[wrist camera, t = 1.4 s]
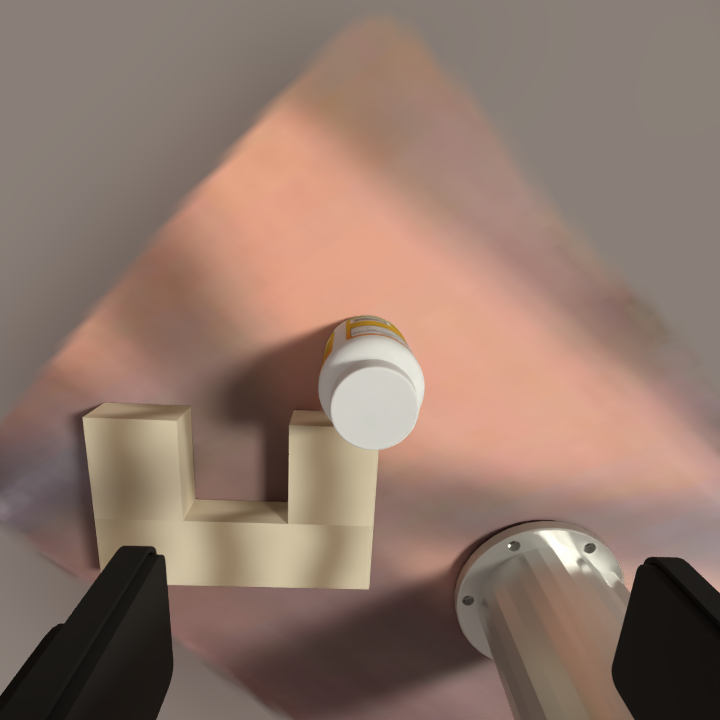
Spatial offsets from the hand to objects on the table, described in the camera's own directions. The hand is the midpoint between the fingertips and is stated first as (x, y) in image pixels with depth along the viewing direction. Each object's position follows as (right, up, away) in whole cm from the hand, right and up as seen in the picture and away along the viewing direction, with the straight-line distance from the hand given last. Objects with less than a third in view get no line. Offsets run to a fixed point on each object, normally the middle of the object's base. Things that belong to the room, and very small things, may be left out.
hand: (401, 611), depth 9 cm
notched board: (-9, -4, +22) cm, 24 cm away
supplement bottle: (0, +5, +20) cm, 21 cm away
